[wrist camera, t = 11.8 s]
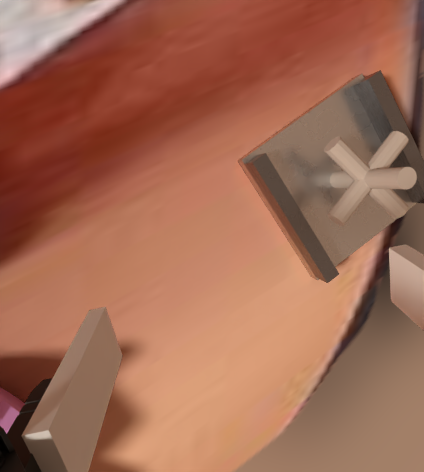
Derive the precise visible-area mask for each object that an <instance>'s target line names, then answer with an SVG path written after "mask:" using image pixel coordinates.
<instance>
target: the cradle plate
mask: <svg viewBox="0 0 424 472" xmlns="http://www.w3.org/2000/svg"><path fill="white" fill-rule="evenodd" d="M393 131H399V132H401V133H403V134H404V135H406V136H407V138H408V139H409V140H408V143H407V145H406V146H405V147H404V148H403V150H402V151H401V152H400V154H399V155H398V156H397V158H396V159H395V160H394V161H393V163H392V164H391V165H390V167H389V168H396V167H411V168H413V169H414V170H415V172H416V174H417V180H416V183H415V185H414V186H413V187H412V188H410V189H392V190H393V191H394V192H395V193H396V194H397V195H398V196H399V197H400V198H401V199H402V200H403V201H404V202H405V203H406V204H407V205H408V207H409V209H410V208H411V207H413V206H414V205H415V204H417V203H424V160H423V158H422V156H421V154H420V152H419V150H418V148H417V145H416V143H415V141H414V139H413V137H412V135H411V133H410V131H409V129H408V127H407V125H406V123H405V120H404V118H403V116H402V114H401V112H400V110H399V108H398V106H397V104H396V102H395V100H394V98H393V95H392V93H391V91H390V89H389V87H388V85H387V83H386V81H385V79H384V77H383V75H382V72H381V70H380V71H378V72H376V73H373V74H371V75H369V76H367V77H365V78H364V76H363V74H360V75H358V76H356V77H354V78H352V79H351V80H349V81H348V82H347V83H345V84H344V85H342V86H341V87H340V88H338V89H337V90H335V91H334V92H333V93H331V94H330V95H328V96H327V97H326V98H324V99H323V100H321V101H320V102H319V103H317V104H316V105H314V106H313V107H312V108H310V109H309V110H307V111H306V112H305V113H303V114H302V115H301V116H299V117H298V118H296V119H295V120H294V121H292V122H291V123H289V124H288V125H287V126H285V127H284V128H282V129H281V130H280V131H278V132H277V133H275V134H274V135H273V136H271V137H270V138H268V139H267V140H266V141H264V142H263V143H261V144H260V145H259V146H257V147H256V148H254V149H253V150H252V151H250V152H249V153H247V154H246V155H245V156H243V157H242V158H241V159H239V160H238V163H239V164H240V166H241V167H242V169H243V170H244V172H245V174H246V175H247V177H248V178H249V180H250V181H251V183H252V185H253V186H254V188H255V189H256V191H257V192H258V194H259V196H260V197H261V199H262V200H263V202H264V203H265V205H266V207H267V208H268V210H269V211H270V213H271V215H272V216H273V218H274V219H275V221H276V222H277V224H278V226H279V227H280V229H281V230H282V232H283V233H284V235H285V237H286V238H287V240H288V241H289V243H290V244H291V246H292V248H293V249H294V251H295V252H296V254H297V255H298V257H299V259H300V260H301V262H302V263H303V265H304V266H305V268H306V270H307V271H308V273H309V274H310V276H311V277H312V278H314V279H316V280H319V279H321V280H322V281H324V282H326V283H328V282H330V281H331V280H332V279H334V278H335V277H336V276H337V275H339V273H338V271H337V269H336V268H335V267H336V266H337V265H338V264H339V263H341V262H342V261H343V260H345V259H346V258H347V257H348V256H350V255H351V254H352V253H354V252H355V251H356V250H357V249H359V248H360V247H361V246H363V245H364V244H365V243H366V242H368V241H369V240H370V239H372V238H373V237H374V236H375V235H377V234H378V233H379V232H381V231H382V230H383V229H384V228H386V227H387V226H388V225H390V224H391V223H392V222H393V221H395V220H396V219H394V218H392V217H391V216H390V215H389V214H388V213H387V212H386V211H385V210H384V209H383V208H382V207H381V206H380V205H379V204H377V203H376V202H375V201H374V200H373V199H372V198H371V197H370V196H369V195H367V196H366V198H365V199H364V200H363V202H362V203H361V204H360V206H359V207H358V208H357V209H356V211H355V212H354V213H353V215H352V216H351V217H350V219H349V220H348V221H347V222H346V224H345V225H344V226H340V225H338V224H336V223H334V222H333V221H332V220H330V219H329V217H328V216H327V215H328V213H329V212H330V211H331V209H332V208H333V207H334V205H335V204H336V203H337V202H338V200H339V199H340V198H341V196H342V195H343V194H344V192H345V191H346V190H347V189H348V188H334V187H333V186H332V185H331V183H330V177H331V175H332V174H333V173H334V172H337V171H344V170H343V169H342V168H341V167H340V166H339V165H338V164H337V163H336V162H335V161H333V160H332V159H331V158H330V157H329V156H328V155H327V154H326V153H325V152H324V148H325V147H326V145H327V144H328V143H329V142H330V141H331V140H332V139H334V138H335V137H337V136H339V137H341V138H342V139H343V140H344V141H345V142H346V143H347V144H348V145H349V146H350V147H351V148H352V149H353V150H354V151H355V152H356V153H357V154H358V155H359V156H360V157H361V158H362V159H363V160H364V161H365V162H366V163H368V161H369V160H370V159H371V158H372V156H373V155H374V154H375V152H376V151H377V150H378V148H379V147H380V146H381V145H382V143H383V142H384V141H385V139H386V138H387V137H388V136H389V134H390V133H391V132H393ZM409 209H408V210H409Z"/></svg>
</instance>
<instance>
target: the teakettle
mask: <svg viewBox="0 0 424 472" xmlns="http://www.w3.org/2000/svg"><path fill="white" fill-rule="evenodd" d="M23 405H25V403H24V402H22V401H21V400H20V399H18V398H17V397H15V396H14V395H12V394H11V393H9V392H8V391H6V390H4V389H3V388H1V387H0V426H1V427H2V428H3V429H4V430H5V432H6V434H7V432H8V431H9V429H10V427H11V426H12V424H13V422H14V421H15V419H16V417H17V416H18V415H19V412H20V410H21V409H22V407H23Z"/></svg>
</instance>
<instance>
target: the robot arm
mask: <svg viewBox="0 0 424 472" xmlns="http://www.w3.org/2000/svg"><path fill="white" fill-rule="evenodd" d="M389 260H390V287H391V301H392V302H393V303H394V304H395V305H396V306H397V307H398V308H400V309H401V310H402V311H403V312H404V313H405V314H406V315H407V316H408V317H409V318H410V319H411V320H412V321H414V322H415V323H416V324H417V325H418V326H419V327H420V328H421V329H422V330H423V331H424V255H423V254H421V253H419V252H418V251H416V250H414V249H413V248H411V247H409V246H408V245H401V246H396V247H391V248H389ZM122 357H123V355H122V352H121V349H120V347H119V344H118V341H117V338H116V335H115V332H114V329H113V326H112V324H111V321H110V318H109V315H108V312H107V309H106V307H102V308H98V309H93V310H89V312H88V314H87V315H86V317H85V319H84V321H83V323H82V325H81V327H80V328H79V330H78V332H77V334H76V336H75V338H74V340H73V341H72V343H71V345H70V347H69V349H68V351H67V353H66V354H65V356H64V358H63V360H62V362H61V364H60V365H59V367H58V369H57V371H56V373H55V375H54V377H53V378H50V379H46V380H43V381H42V382H41V383H40V384H39V385H38V386H37V387H36V388H35V389H34V390H33V391H32V392H31V393H30V395H29V397H28V399H27V400H26V402H25V405H23V407H22V409H21V410H20V412H19V415H18V416H17V417H16V419H15V421H14V422H13V424H12V426H11V427H10V429H9V431H8V432H7V434H6V432H5V430H4V429H3V428H2V427H1V426H0V472H89V468H90V465H91V461H92V458H93V455H94V451H95V448H96V445H97V441H98V438H99V434H100V431H101V428H102V424H103V421H104V418H105V414H106V411H107V407H108V404H109V401H110V397H111V394H112V390H113V387H114V384H115V380H116V377H117V374H118V370H119V367H120V363H121V360H122Z"/></svg>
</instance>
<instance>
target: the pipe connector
mask: <svg viewBox="0 0 424 472" xmlns="http://www.w3.org/2000/svg"><path fill="white" fill-rule="evenodd" d="M408 140H409V139H408V138H407V136H406V135H404V134H403V133H401V132H399V131H393V132H391V133H390V134H389V136H388V137H387V138H386V139H385V141H384V142H383V143H382V145H381V146H380V147H379V148H378V150H377V151H376V152H375V154H374V155H373V156H372V158H371V159H370V160H369V161H368V163H366V162H365V161H364V160H363V159H362V158H361V157H360V156H359V155H358V154H357V153H356V152H355V151H354V150H353V149H352V148H351V147H350V146H349V145H348V144H347V143H346V142H345V141H344V140H343V139H342V138H341V137H339V136H337V137H335V138H334V139H332V140H331V141H330V142H329V143H328V144H327V145H326V147H325V148H324V152H325V153H326V154H327V155H328V156H329V157H330V158H331V159H332V160H333V161H335V162H336V163H337V164H338V165H339V166H340V167H341V168H342V169H343V170H344V171H337V172H334V173H333V174H332V175H331V177H330V183H331V185H332V186H333V187H334V188H348V189H347V190H346V191H345V192H344V194H343V195H342V196H341V198H340V199H339V200H338V202H337V203H336V204H335V205H334V207H333V208H332V209H331V211H330V212H329V213H328V215H327V216H328V217H329V219H330V220H332V221H333V222H334V223H336V224H338V225H340V226H344V225H345V224H346V222H347V221H348V220H349V219H350V217H351V216H352V215H353V213H354V212H355V211H356V209H357V208H358V207H359V206H360V204H361V203H362V202H363V200H364V199H365V198H366V196H367V195H369V196H370V197H371V198H372V199H373V200H374V201H375V202H376V203H377V204H379V205H380V206H381V207H382V208H383V209H384V210H385V211H386V212H387V213H388V214H389V215H390V216H391V217H392V218H394V219H397V218H400V217H402V216H403V215H404V214H405V213H407V211H408V209H409V207H408V205H407V204H406V203H405V202H404V201H403V200H402V199H401V198H400V197H399V196H398V195H397V194H396V193H395V192H394V191H393V190H392V189H410V188H412V187H413V186H414V185H415V183H416V180H417V174H416V172H415V170H414V169H413V168H411V167H396V168H389V167H390V165H391V164H392V163H393V161H394V160H395V159H396V158H397V156H398V155H399V154H400V152H401V151H402V150H403V148H404V147H405V146H406V145H407V143H408Z"/></svg>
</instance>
